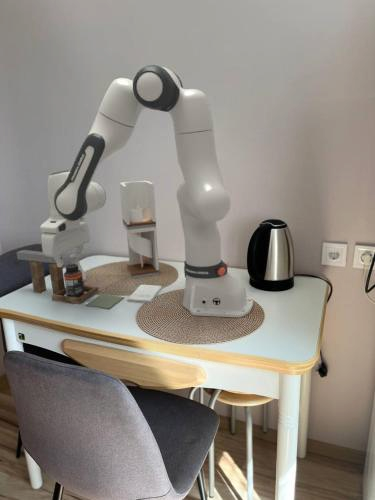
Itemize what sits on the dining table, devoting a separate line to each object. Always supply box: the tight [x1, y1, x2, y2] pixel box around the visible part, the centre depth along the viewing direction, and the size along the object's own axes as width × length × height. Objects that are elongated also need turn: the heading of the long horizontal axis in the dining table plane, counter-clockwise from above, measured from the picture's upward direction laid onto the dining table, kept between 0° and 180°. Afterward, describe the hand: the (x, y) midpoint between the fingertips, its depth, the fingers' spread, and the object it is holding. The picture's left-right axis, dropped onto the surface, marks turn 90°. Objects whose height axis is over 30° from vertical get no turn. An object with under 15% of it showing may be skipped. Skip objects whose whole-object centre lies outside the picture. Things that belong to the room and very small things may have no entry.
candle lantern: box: [119, 180, 160, 280], centre depth 152 cm, size 11×11×35 cm
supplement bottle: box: [63, 263, 86, 298], centre depth 135 cm, size 6×6×11 cm
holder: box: [28, 260, 100, 306], centre depth 137 cm, size 22×11×12 cm, turn 68°
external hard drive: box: [126, 284, 163, 304], centre depth 136 cm, size 2×8×12 cm
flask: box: [70, 253, 88, 283], centre depth 150 cm, size 7×7×10 cm
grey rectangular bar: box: [16, 249, 63, 264], centre depth 138 cm, size 17×3×2 cm, turn 68°
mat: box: [85, 293, 125, 310], centre depth 131 cm, size 9×9×1 cm
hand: (69, 262), depth 133 cm, fingers open, 8 cm apart
